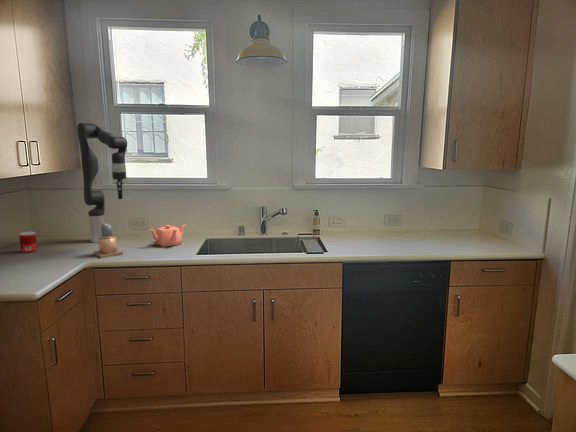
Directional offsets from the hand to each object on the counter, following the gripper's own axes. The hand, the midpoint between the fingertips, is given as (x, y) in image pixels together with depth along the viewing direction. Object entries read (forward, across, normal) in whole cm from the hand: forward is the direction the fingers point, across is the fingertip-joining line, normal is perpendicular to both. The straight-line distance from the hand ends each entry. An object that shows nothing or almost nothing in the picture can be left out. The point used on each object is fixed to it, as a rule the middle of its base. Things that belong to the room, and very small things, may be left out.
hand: (120, 198), depth 226 cm
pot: (+31, +1, +27) cm, 41 cm away
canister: (+31, +13, -8) cm, 34 cm away
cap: (+20, +13, -8) cm, 24 cm away
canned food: (+32, -9, -51) cm, 60 cm away
